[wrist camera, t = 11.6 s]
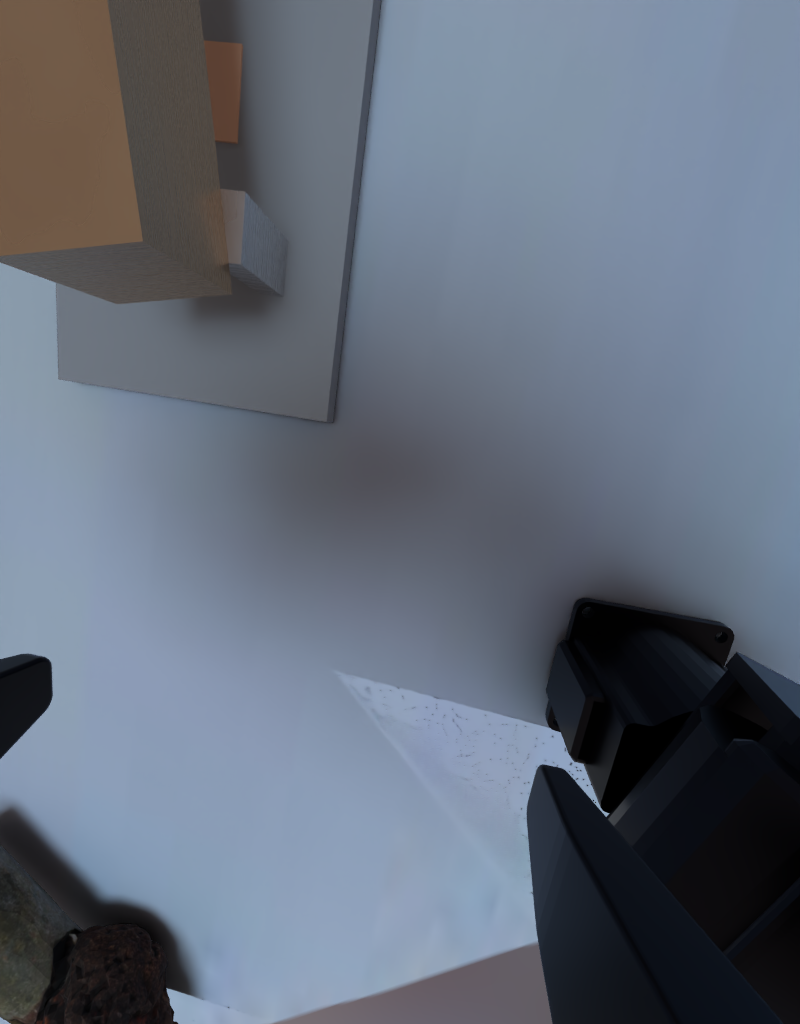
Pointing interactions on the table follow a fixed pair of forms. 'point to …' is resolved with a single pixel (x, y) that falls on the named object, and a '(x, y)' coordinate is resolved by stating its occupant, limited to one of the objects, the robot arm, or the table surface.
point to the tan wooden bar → (110, 149)
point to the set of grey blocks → (254, 245)
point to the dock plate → (285, 201)
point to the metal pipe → (73, 963)
